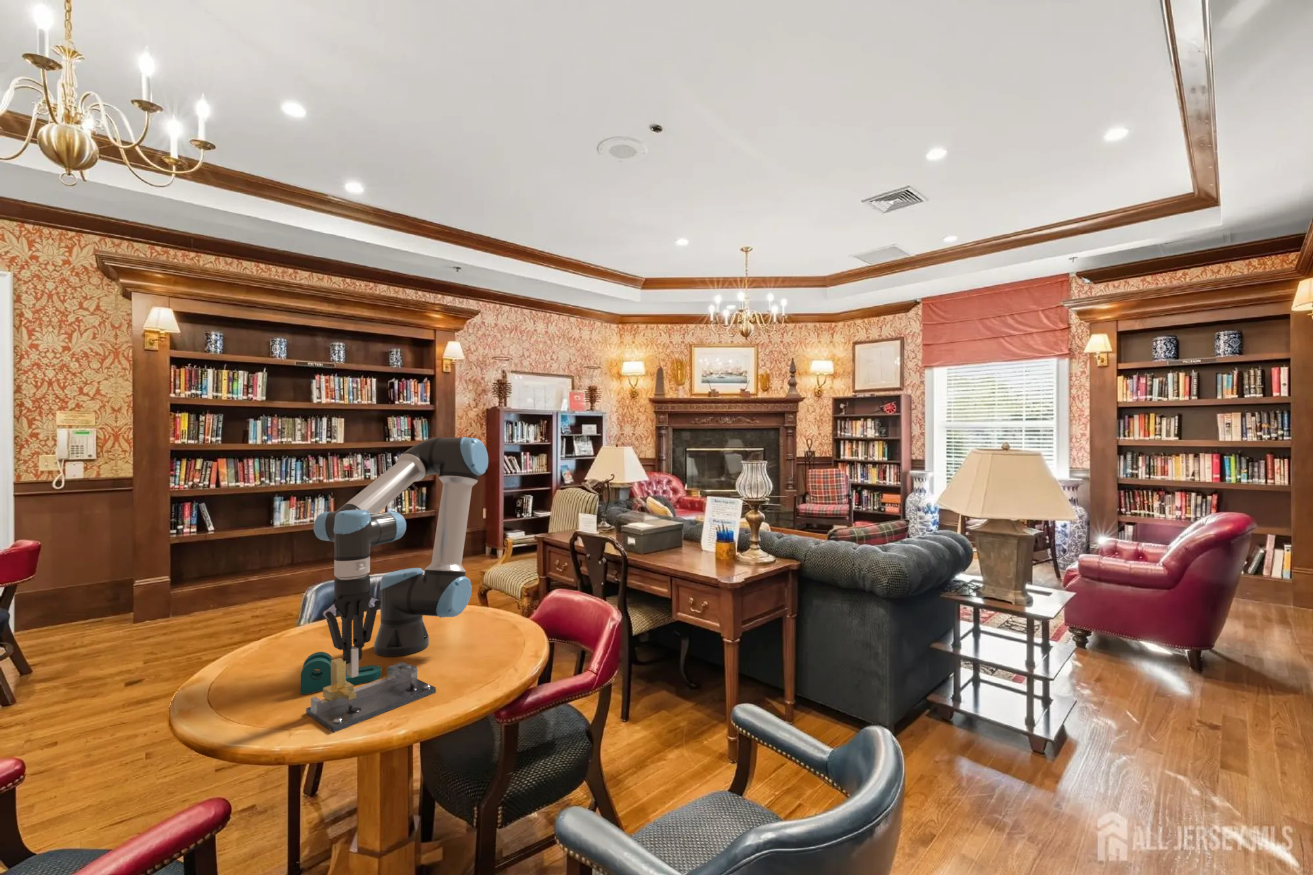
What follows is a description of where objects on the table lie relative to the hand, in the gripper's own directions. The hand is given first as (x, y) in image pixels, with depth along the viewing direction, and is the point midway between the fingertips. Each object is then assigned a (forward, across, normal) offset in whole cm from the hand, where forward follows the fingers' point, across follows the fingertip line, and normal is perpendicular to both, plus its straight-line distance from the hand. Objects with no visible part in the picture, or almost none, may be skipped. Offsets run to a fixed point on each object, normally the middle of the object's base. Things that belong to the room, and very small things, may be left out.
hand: (352, 675), depth 135 cm
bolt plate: (+7, +4, -3) cm, 8 cm away
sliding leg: (+5, -3, -2) cm, 7 cm away
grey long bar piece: (+6, +3, -2) cm, 7 cm away
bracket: (+7, +4, +15) cm, 17 cm away
